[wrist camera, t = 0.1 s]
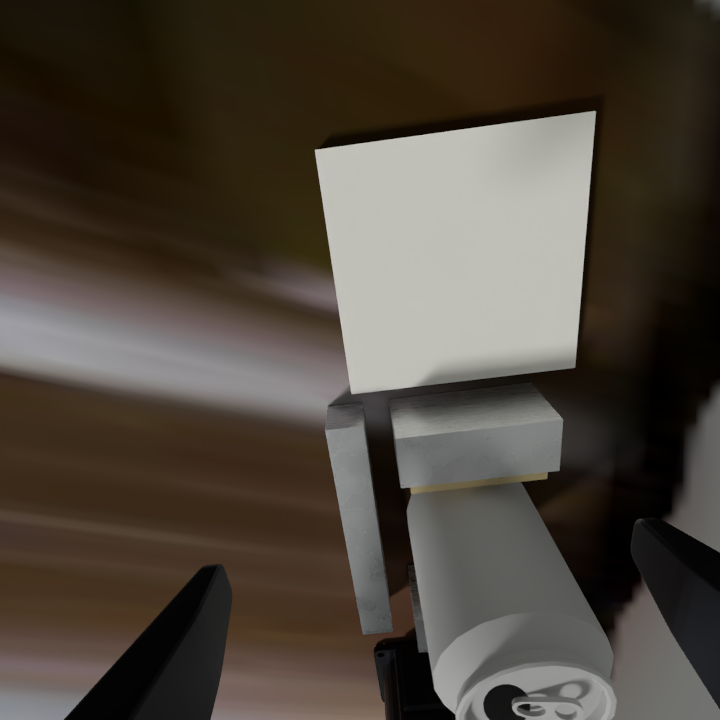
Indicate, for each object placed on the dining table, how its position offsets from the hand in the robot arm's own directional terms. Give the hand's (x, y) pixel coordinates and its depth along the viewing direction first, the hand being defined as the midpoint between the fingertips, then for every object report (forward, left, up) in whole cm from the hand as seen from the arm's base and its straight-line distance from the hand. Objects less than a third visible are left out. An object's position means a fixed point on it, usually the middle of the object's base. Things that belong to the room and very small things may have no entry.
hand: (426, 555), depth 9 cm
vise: (-12, -2, -14) cm, 19 cm away
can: (-12, -4, -15) cm, 19 cm away
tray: (+3, -4, -14) cm, 15 cm away
